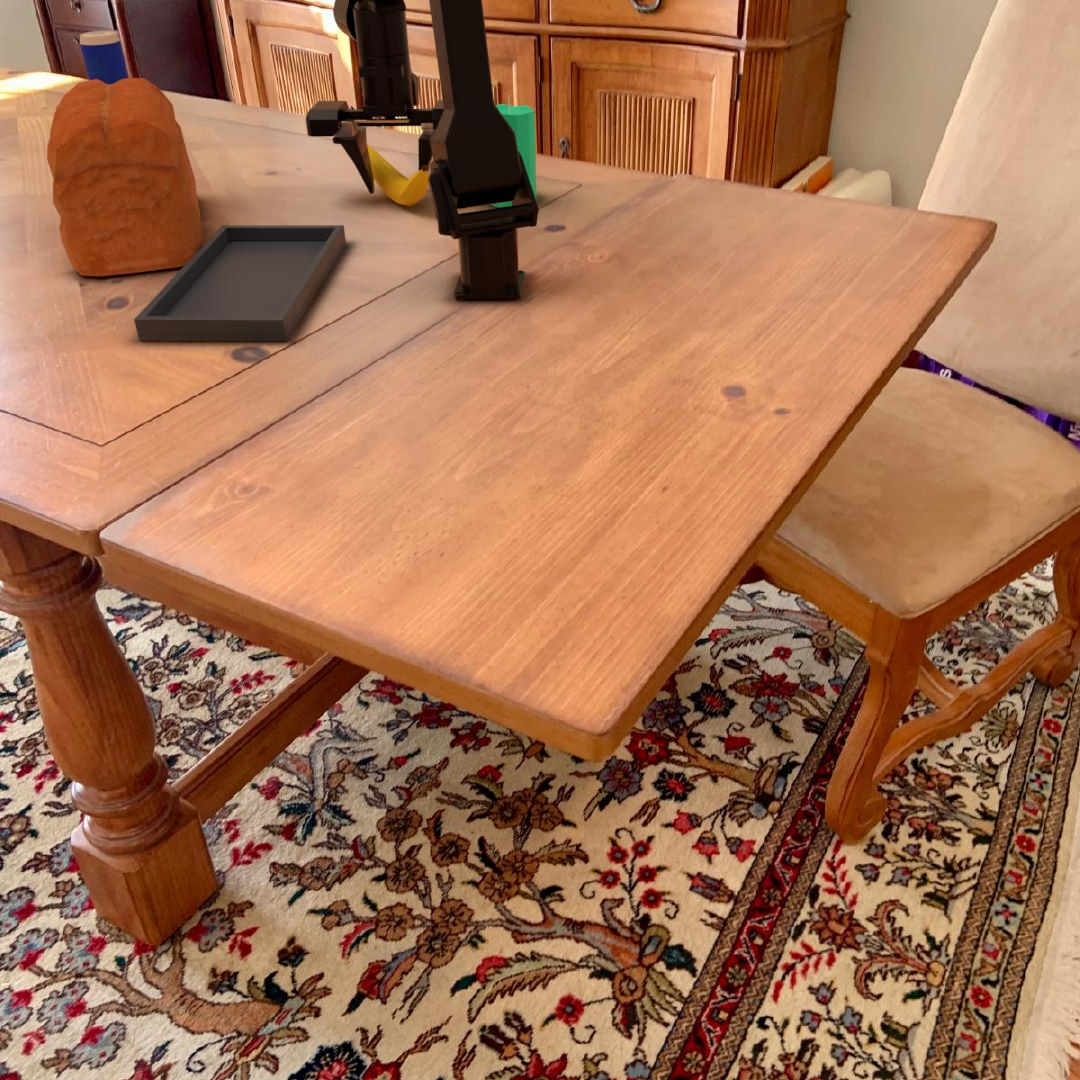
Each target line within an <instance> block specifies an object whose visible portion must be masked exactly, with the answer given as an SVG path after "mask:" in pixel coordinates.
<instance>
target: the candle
mask: <svg viewBox="0 0 1080 1080" xmlns="http://www.w3.org/2000/svg"><path fill="white" fill-rule="evenodd" d="M510 102H511V101H510V95H509V94H508V95H507V103H508V104H504V103H499V104H495V105H496V107H497V108H498V110H499V111H500V112H501V114H502V115H503V116H504V118H505V119H506V121H507V122H508V123H509V125H510V126H511V128H512V129H513V130H514V132H515V136H516V142H517V147H518V151H519V152H520V154H521V156H522V159H523V162H524V165H525V168H526V171H527V174H528V177H529V180H530V183H531V186H532V189H533V192H534V195H535V198H536V199H537V167H536V166H537V164H536V163H537V162H536V161H537V160H536V116H535V115H536V112H535V110H534V109H532V108H531V107H530V106H529V105H527V104H523V105H511V104H510ZM491 206H492V207H494V208H500V207H506V206H512V201H510V202H504V203H498V204H491Z"/></svg>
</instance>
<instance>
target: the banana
mask: <svg viewBox="0 0 1080 1080" xmlns="http://www.w3.org/2000/svg"><path fill="white" fill-rule="evenodd" d="M367 147H368V152H369V157H370V162H371V167H372V172H373V177H374V182H375V183H376V184H377V186H378V187H379V188H380V190H382V192H383V193H384V194H385V195H386V196H387V197H388V198H389V199H391V200H392V201H393V202H394V203H396V204H399V205H403V206H406V207H413V206H414V205H416V204H418V203H420V202H421V201H422V200H423V199H424V198H425V197H426V194H427V192H428V188H429V183H428V178H429V174H430V173H429V174H428V172H427V170H428V169H429V167H428V166H427V165H425V166H422V170H420V171H419V170H418V171H415V173H413V174H412V175H411V176H410V177H409V178H408V177H407V176H405V175H403V173H401V172H400V171H399V170H398V169H397V168H396V167H394V166H393V165H392V164H391V163H390V162H389V161H388V160H387V159H385V157H383V156H382V155H381V154H379V152H378V151H376V150H375V149H374V148H373V147H372V146H370V145H369V144H368V143H367Z"/></svg>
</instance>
